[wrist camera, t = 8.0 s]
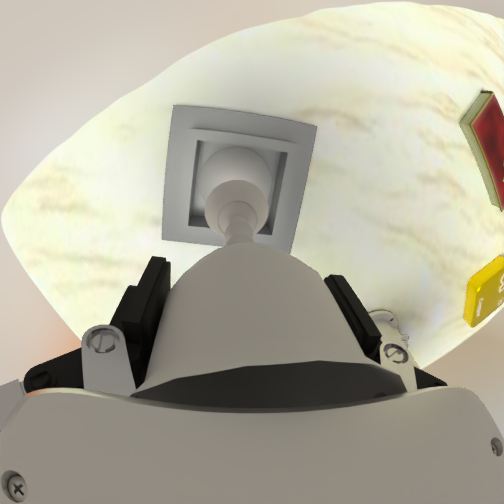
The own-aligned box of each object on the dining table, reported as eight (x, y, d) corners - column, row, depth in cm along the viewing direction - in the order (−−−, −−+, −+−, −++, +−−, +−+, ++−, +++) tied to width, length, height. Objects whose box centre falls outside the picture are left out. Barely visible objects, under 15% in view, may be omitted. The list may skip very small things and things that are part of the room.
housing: (314, 126, 32) (327, 126, 27) (288, 251, 39) (296, 267, 35) (175, 105, 29) (166, 102, 25) (163, 237, 37) (154, 252, 32)
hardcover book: (479, 90, 29) (495, 91, 25) (511, 171, 36) (524, 176, 32) (455, 122, 32) (471, 124, 28) (489, 205, 39) (502, 212, 35)
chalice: (198, 255, 23) (169, 480, 7) (183, 176, 20) (52, 368, 4) (284, 243, 23) (371, 453, 7) (278, 163, 20) (448, 316, 4)
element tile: (466, 278, 47) (478, 289, 42) (501, 251, 45) (513, 260, 41) (461, 321, 53) (471, 331, 49) (495, 294, 51) (505, 303, 47)
